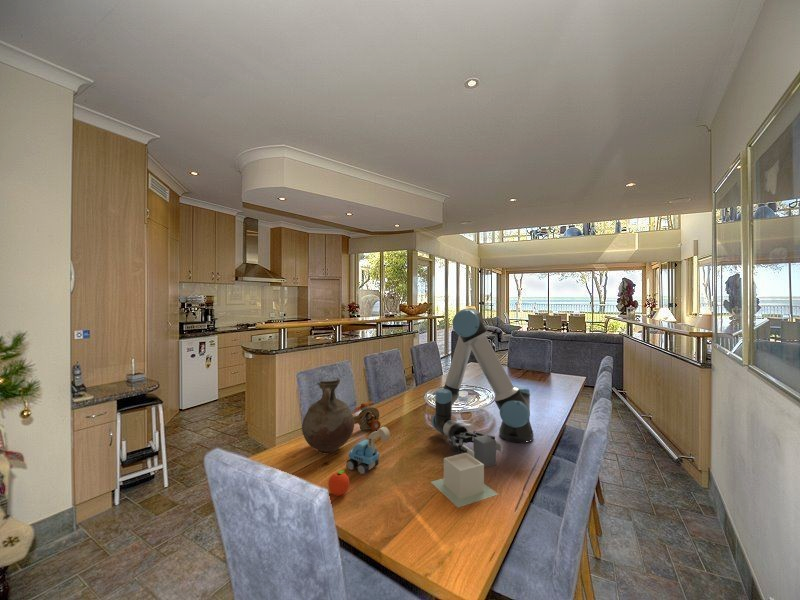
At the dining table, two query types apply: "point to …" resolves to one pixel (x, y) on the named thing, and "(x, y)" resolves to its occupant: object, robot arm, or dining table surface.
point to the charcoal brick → (485, 450)
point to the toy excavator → (366, 452)
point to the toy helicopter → (367, 417)
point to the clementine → (338, 483)
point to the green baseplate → (467, 500)
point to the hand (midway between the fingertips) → (487, 451)
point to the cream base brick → (463, 475)
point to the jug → (328, 421)
